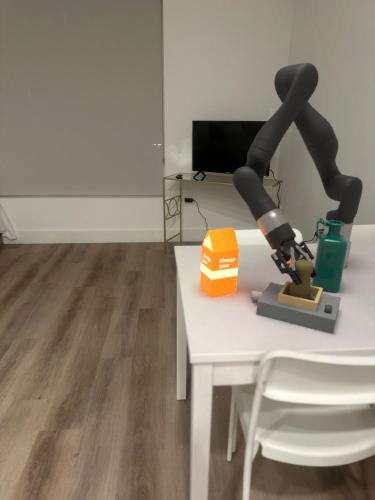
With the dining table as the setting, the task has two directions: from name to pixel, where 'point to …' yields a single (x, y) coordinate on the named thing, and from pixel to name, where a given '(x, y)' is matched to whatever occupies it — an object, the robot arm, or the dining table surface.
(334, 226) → the pitcher
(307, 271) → the cork
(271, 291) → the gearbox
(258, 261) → the dining table surface
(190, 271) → the dining table surface
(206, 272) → the orange juice
